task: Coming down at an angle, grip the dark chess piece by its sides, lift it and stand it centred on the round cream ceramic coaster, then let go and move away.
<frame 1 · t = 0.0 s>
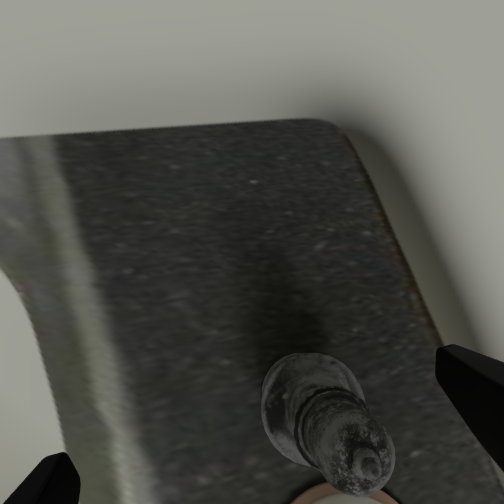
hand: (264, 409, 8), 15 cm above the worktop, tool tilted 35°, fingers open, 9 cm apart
dark chess piece: (300, 393, 23), on the worktop
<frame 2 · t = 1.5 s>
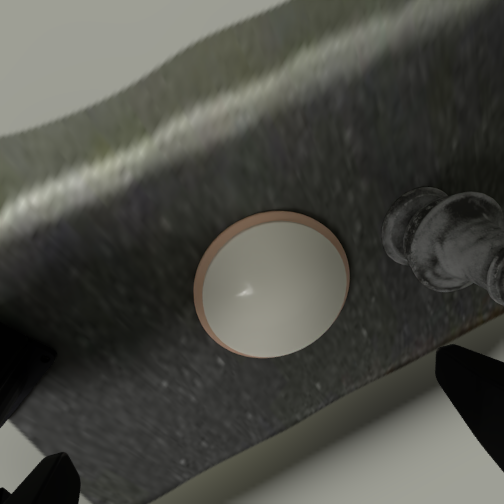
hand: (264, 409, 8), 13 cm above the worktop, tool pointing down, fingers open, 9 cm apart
coaster: (273, 287, 22), on the worktop
dark chess piece: (416, 226, 23), on the worktop
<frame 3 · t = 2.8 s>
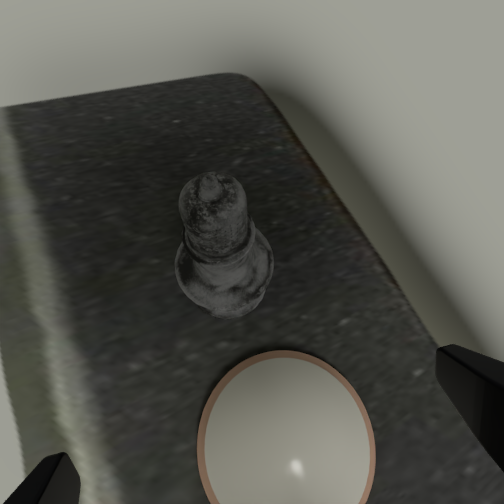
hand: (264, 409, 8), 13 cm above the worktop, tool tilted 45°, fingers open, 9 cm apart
coaster: (285, 441, 20), on the worktop
dark chess piece: (228, 281, 24), on the worktop
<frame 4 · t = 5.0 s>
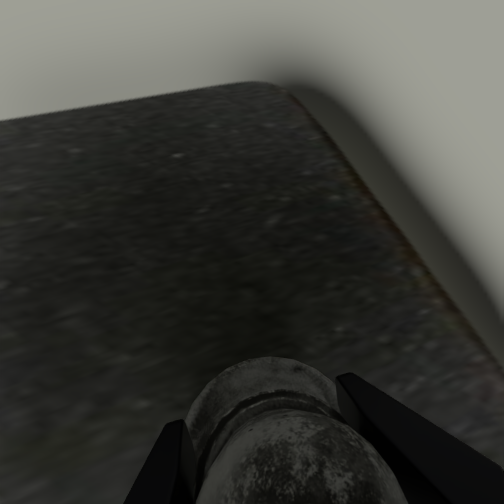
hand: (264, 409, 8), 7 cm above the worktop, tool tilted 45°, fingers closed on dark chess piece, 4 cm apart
dark chess piece: (267, 443, 14), on the worktop, touching gripper
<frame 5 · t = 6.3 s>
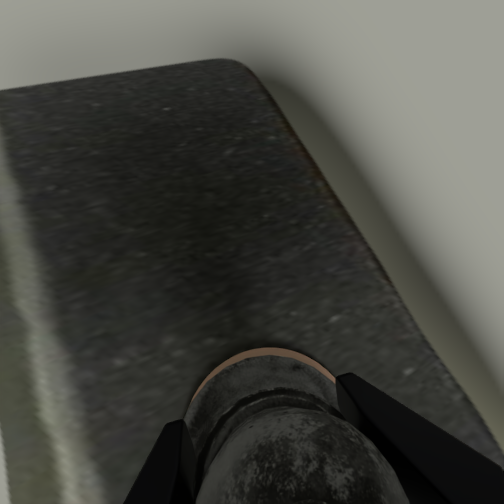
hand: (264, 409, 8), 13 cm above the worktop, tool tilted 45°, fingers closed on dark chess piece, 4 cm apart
coaster: (271, 439, 19), on the worktop
dark chess piece: (266, 441, 14), point 6 cm above the worktop, touching gripper
when the fingers open (8 cm above the worktop, at t = 7.6 s): dark chess piece stays where it is, resting on coaster.
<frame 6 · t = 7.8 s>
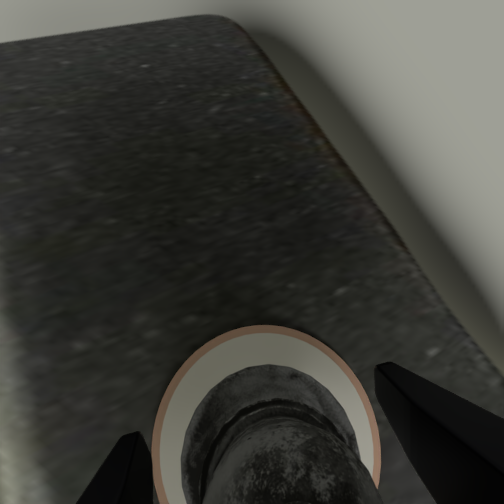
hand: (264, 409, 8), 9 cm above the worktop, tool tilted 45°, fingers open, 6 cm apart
coaster: (265, 437, 15), on the worktop
dark chess piece: (266, 444, 15), point 1 cm above the worktop, touching coaster
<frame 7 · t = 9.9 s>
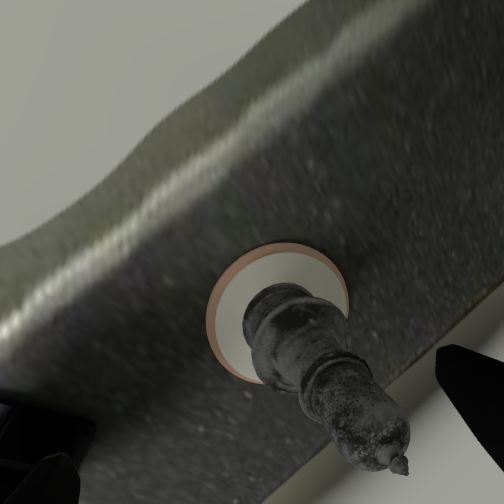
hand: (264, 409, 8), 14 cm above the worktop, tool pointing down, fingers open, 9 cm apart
coaster: (279, 314, 23), on the worktop
dark chess piece: (280, 320, 22), point 1 cm above the worktop, touching coaster
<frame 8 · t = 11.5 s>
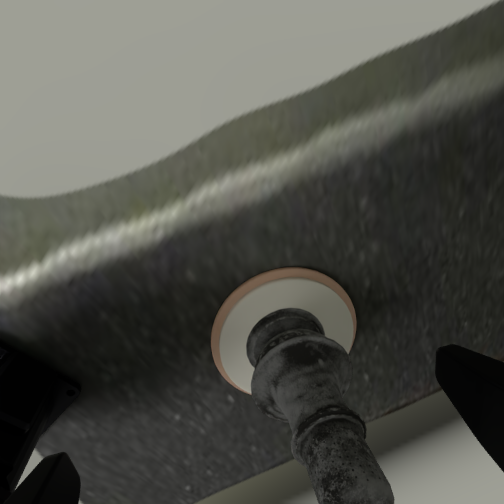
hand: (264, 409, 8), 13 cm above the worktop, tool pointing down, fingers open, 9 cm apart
coaster: (284, 334, 23), on the worktop
dark chess piece: (285, 341, 22), point 1 cm above the worktop, touching coaster
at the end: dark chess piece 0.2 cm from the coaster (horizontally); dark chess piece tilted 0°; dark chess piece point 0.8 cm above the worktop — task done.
